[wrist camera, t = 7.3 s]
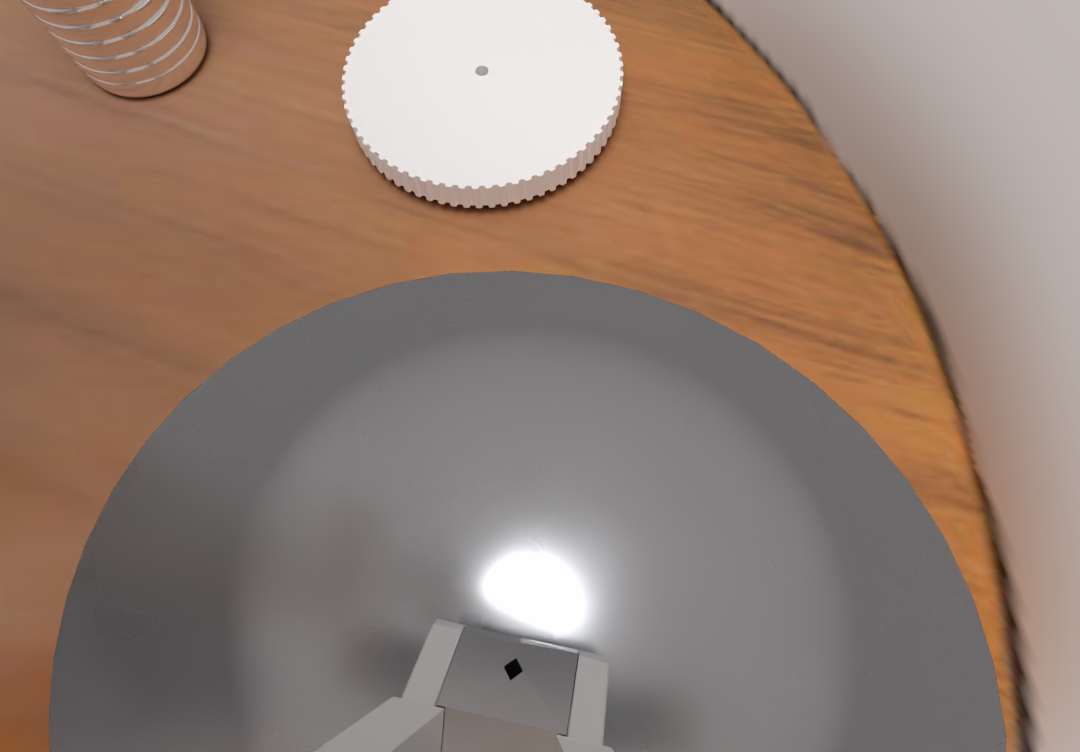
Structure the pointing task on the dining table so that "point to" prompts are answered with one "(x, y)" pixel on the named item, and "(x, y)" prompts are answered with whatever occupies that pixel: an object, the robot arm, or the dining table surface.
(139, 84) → the water bottle
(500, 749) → the robot arm
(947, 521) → the dining table surface
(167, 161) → the dining table surface
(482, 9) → the plastic lid
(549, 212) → the dining table surface
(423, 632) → the cooker lid
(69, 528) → the dining table surface
